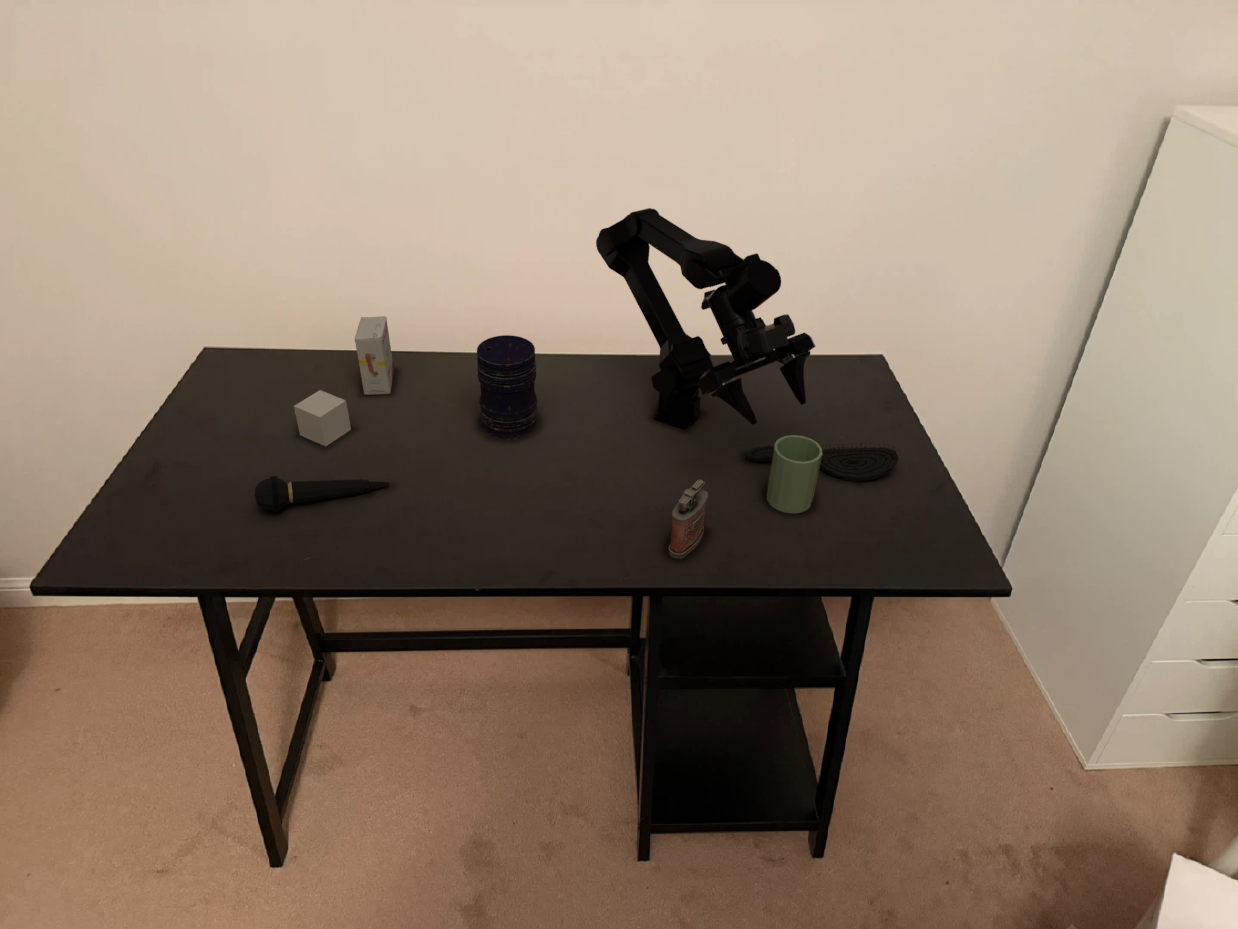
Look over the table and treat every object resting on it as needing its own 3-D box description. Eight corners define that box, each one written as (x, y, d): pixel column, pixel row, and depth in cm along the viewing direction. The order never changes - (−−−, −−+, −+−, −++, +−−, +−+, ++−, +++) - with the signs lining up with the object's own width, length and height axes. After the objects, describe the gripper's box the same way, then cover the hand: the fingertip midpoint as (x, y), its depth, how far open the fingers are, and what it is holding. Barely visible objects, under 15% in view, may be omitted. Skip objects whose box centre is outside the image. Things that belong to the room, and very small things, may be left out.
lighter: (683, 561, 136) (688, 509, 130) (663, 552, 138) (667, 500, 132) (708, 531, 142) (714, 480, 136) (689, 523, 143) (694, 472, 137)
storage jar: (538, 408, 167) (537, 335, 158) (536, 440, 160) (534, 365, 150) (483, 407, 167) (478, 334, 158) (478, 439, 159) (472, 364, 150)
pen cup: (759, 503, 148) (767, 453, 142) (776, 479, 153) (784, 430, 147) (802, 519, 145) (812, 468, 139) (818, 494, 150) (828, 444, 144)
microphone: (387, 495, 151) (255, 507, 144) (385, 461, 149) (252, 472, 142) (392, 506, 146) (256, 519, 139) (391, 472, 144) (253, 483, 137)
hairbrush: (746, 430, 159) (895, 436, 157) (745, 447, 161) (892, 454, 159) (747, 459, 152) (902, 466, 150) (745, 477, 155) (899, 484, 152)
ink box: (368, 370, 176) (359, 315, 168) (394, 370, 176) (387, 314, 169) (362, 395, 169) (353, 338, 162) (390, 395, 169) (382, 338, 162)
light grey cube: (325, 418, 163) (320, 389, 159) (351, 429, 160) (346, 400, 157) (299, 435, 158) (293, 405, 155) (325, 446, 156) (319, 417, 152)
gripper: (706, 321, 133) (751, 420, 131) (810, 284, 139) (854, 378, 138) (679, 347, 143) (721, 439, 142) (777, 312, 150) (818, 399, 148)
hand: (779, 413), depth 142 cm, fingers open, 9 cm apart
